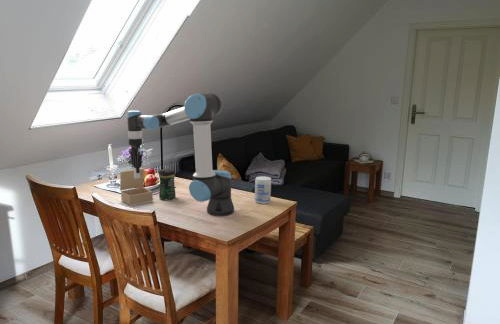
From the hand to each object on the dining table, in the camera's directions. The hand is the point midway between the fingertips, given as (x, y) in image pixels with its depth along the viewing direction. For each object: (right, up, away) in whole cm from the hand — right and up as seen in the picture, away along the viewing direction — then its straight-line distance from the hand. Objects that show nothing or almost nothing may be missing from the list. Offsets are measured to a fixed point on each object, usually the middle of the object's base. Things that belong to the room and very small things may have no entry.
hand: (137, 177), depth 226 cm
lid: (-5, -1, +6) cm, 7 cm away
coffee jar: (+16, -13, +11) cm, 23 cm away
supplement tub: (+73, -15, +7) cm, 75 cm away
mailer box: (-1, -14, +4) cm, 15 cm away
